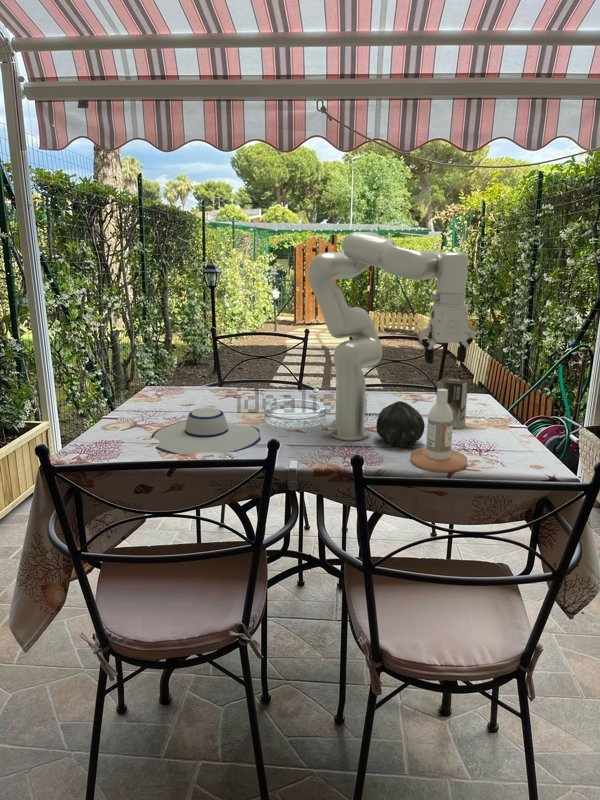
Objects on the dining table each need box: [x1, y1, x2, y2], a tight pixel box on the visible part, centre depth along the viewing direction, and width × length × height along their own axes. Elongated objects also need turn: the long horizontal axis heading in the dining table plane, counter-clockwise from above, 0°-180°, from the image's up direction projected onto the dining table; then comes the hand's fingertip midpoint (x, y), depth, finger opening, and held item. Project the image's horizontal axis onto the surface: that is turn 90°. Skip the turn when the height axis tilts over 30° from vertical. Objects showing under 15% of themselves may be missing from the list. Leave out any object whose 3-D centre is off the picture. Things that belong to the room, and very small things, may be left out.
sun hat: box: [150, 407, 262, 455], centre depth 181 cm, size 36×36×9 cm
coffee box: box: [435, 377, 469, 430], centre depth 192 cm, size 9×6×16 cm
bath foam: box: [425, 389, 454, 460], centre depth 158 cm, size 7×7×20 cm
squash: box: [375, 400, 426, 448], centre depth 175 cm, size 14×15×15 cm
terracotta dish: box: [409, 447, 468, 473], centre depth 160 cm, size 16×16×2 cm
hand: (444, 362), depth 153 cm, fingers open, 9 cm apart
